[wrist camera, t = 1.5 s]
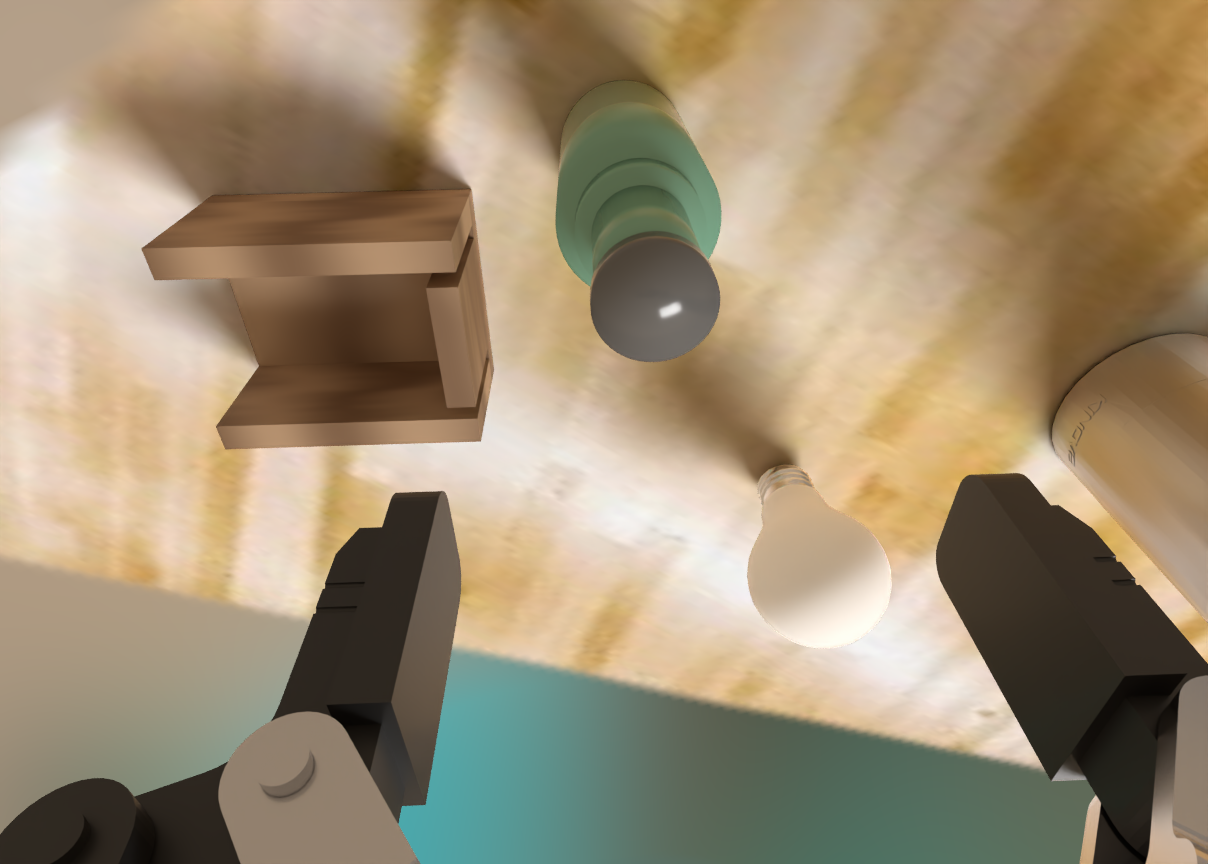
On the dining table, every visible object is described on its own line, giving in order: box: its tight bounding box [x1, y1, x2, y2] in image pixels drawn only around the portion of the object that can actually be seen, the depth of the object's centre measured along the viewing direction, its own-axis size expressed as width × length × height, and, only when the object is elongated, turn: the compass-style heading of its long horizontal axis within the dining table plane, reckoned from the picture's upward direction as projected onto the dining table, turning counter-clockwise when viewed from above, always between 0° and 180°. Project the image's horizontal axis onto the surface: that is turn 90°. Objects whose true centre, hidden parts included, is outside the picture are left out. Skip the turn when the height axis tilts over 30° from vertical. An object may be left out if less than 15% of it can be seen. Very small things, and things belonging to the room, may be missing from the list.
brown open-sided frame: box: [142, 189, 494, 449], centre depth 30 cm, size 11×9×6 cm
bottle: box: [556, 80, 721, 362], centre depth 23 cm, size 5×5×15 cm
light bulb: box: [747, 464, 892, 649], centre depth 36 cm, size 7×7×11 cm
